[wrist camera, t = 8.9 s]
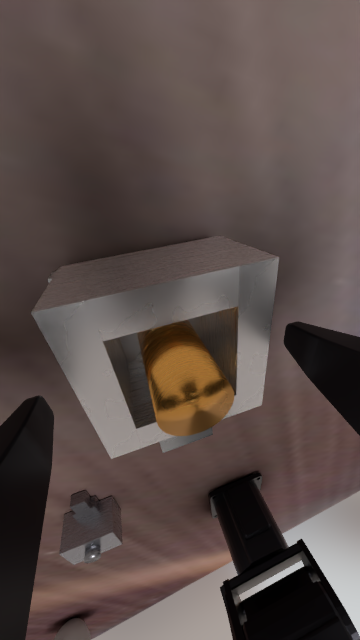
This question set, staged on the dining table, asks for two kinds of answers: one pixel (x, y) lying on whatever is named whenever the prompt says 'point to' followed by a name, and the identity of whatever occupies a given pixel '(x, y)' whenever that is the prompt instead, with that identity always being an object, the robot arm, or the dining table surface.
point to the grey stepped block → (90, 528)
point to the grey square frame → (155, 311)
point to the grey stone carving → (73, 630)
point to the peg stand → (180, 380)
